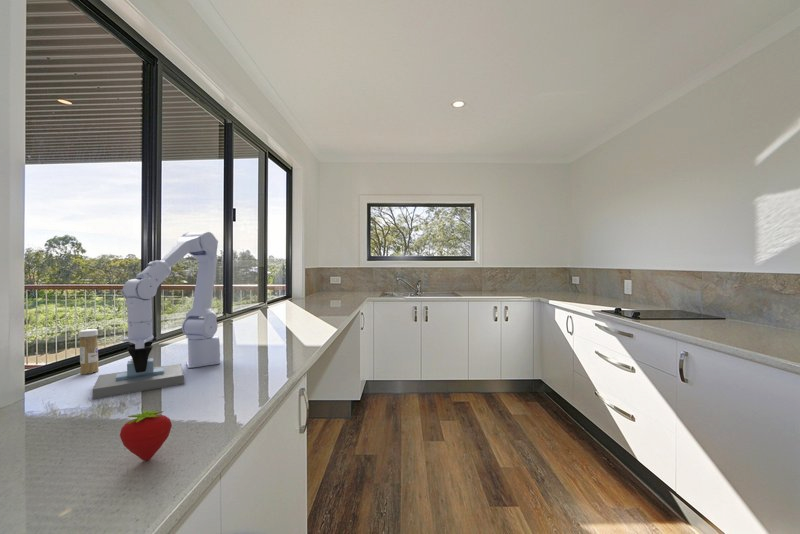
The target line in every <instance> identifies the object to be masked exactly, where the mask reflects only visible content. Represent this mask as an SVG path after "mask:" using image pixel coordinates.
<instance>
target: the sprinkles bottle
mask: <svg viewBox="0 0 800 534" xmlns="http://www.w3.org/2000/svg"><path fill="white" fill-rule="evenodd" d="M98 335H99V329H97V328H87V329H81V330H78V337H79V363H80V372H79V373H80V374H82V375H88V374H87V373H91V374H94V373H93V372H95V373H97V372H99V370H100V369H99V348H98V347H99V346H98Z"/></svg>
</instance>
